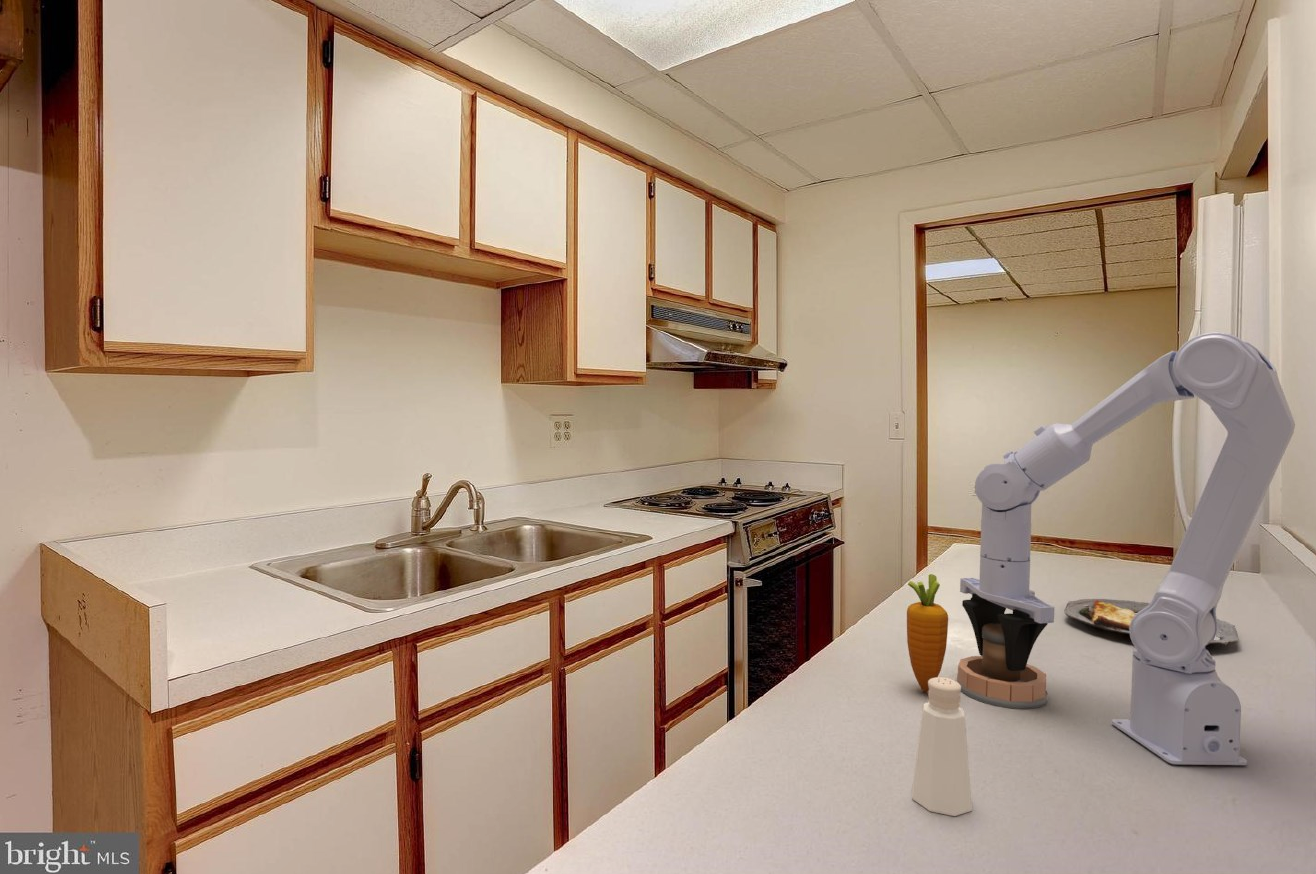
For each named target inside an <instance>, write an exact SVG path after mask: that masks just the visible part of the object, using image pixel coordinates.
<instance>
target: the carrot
mask: <svg viewBox="0 0 1316 874" xmlns="http://www.w3.org/2000/svg"><path fill="white" fill-rule="evenodd" d="M907 585H908V586H909V587H911V589H913V590H914V591H915V593H916V595H917V596H918V598H919V601H917V602H914V603H912V604H909V606H908V607H907V610H906V638H907V639H906V641H907V642H906V643H907V649H908V656H909V660H910V665H911V669H912V672H913V675H914V677H915V679H916V681H917V684H918V686H919V688H920V689H921V690H922V692H923V693H929V686H928V681H929V680H930V679H931V678H936V677H939V675H940V673H941V671H942V668H943V663H944V661H945V660H944V659H945V655H946V651H947V644H948V630H949V615H948V611H947V610H946V609H945V608H944V607H942V606H941V604H938V603H934V602H935V597H936V594H937V592H938V591H939V589H940V582H938V579H937V576H936V574H934V573H930V574H928V588H925V585H924V583H923V581H917V584H916V583H915V582H914V581H911V580H910V581H909V582H908V583H907Z"/></svg>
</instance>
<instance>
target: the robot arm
mask: <svg viewBox="0 0 1316 874" xmlns="http://www.w3.org/2000/svg"><path fill="white" fill-rule="evenodd" d="M1195 397H1197V398H1198V399H1200V400H1201V401H1203V402H1204V403H1206V404H1207V405H1208V406H1209V407H1210V409H1211V412H1213V413H1214V415H1215V416H1216V418H1218V420H1219V422H1220V423H1221V424H1222V426H1223V427H1224V428H1225V430H1226V431H1227V436H1226V438H1225V441H1224V444H1223V445H1222V447H1221V449H1220V452H1219V454H1218V457H1217V459H1216V461H1215V464H1214V466H1213V468H1212V470H1211V473H1210V475H1209V478H1208V480H1207V483H1206V485H1205V487H1204V489H1203V491H1202V494H1201V496H1200V498H1199V501H1198V503H1197V505H1196V508H1195V509H1194V511H1193V514H1192V517H1191V519H1190V521H1189V523H1188V526H1187V529H1186V530H1185V532H1184V534H1183V537H1182V539H1181V542H1180V544H1179V547H1178V549H1177V551H1176V554H1175V555H1174V557H1173V560H1172V562H1171V564H1170V567H1169V570H1168V571H1167V573H1166V575H1165V576H1164V578H1163V580H1162V581H1161V583H1160V585H1159V586H1158V588H1157V589H1156V590H1155V591H1156V592H1155V593H1154V596H1153V597H1152V600H1151V601H1150V602H1149V603H1150V604H1149V605H1148V606H1147V607H1145V608H1144V609H1142V610H1141V611H1139V612H1138V613H1137V614H1136V615H1135V616H1134V617H1133V618H1132V620H1131V623H1130V627H1129V633H1130V634H1129V637H1130V640H1131V643H1132V645H1133V646H1134V647H1133V648H1132V661H1131V664H1132V665H1131V690H1130V692H1131V694H1130V717H1129V718H1130V719H1128V718H1127V719H1126V718H1123V719H1122V718H1119V719H1118V718H1113V719H1111V722H1110V723H1111V725H1113V726H1114V727H1116V728H1118V729H1119V730H1121V732H1123V733H1125V734H1126V735H1128V736H1129V737H1131V738H1132V739H1134V740H1135V741H1136V742H1138V743H1140V745H1142V746H1143V747H1145V748H1146V749H1148V750H1149V751H1151V752H1152V753H1154V754H1155V755H1156V756H1158V757H1160V758H1161V759H1162V760H1164V761H1165V762H1167V763H1169V764H1170V765H1171V764H1172V765H1190V766H1191V765H1193V766H1195V765H1197V766H1199V765H1200V766H1202V765H1203V766H1204V765H1205V766H1206V765H1207V766H1213V765H1214V766H1247V765H1248V759H1245V758H1244V757H1243V756H1241V755H1240V746H1241V745H1240V743H1241V718H1242V705H1241V702H1240V699H1239V697H1238V695H1237V693H1236V692H1235V690H1234V689H1232V688H1231V686H1228V685H1227V684H1226V683H1225V682H1223V681H1222V680H1221V678H1220V676H1219V675H1218V673H1217V670H1216V660H1215V659H1213V657H1212V655H1211V654H1210V651H1209V650H1208V649H1206V646H1208V644H1209V643H1210V642H1211V641H1212V640H1213V639H1214V638H1215V636H1216V634H1217V630H1218V622H1217V619H1218V618H1217V606H1218V604H1219V602H1220V599H1221V597H1222V593H1223V588H1224V585H1225V583H1226V581H1227V579H1228V577H1229V574H1230V572H1231V570H1232V568H1233V565H1234V564H1235V561H1236V559H1237V557H1238V555H1239V553H1240V550H1241V548H1242V546H1243V544H1244V542H1245V540H1246V538H1247V535H1248V533H1249V531H1250V528H1251V527H1252V524H1253V522H1254V520H1255V518H1256V516H1257V513H1258V511H1259V508H1260V507H1261V505H1262V502H1263V500H1264V499H1265V496H1266V495H1267V492H1268V489H1269V488H1270V485H1271V483H1272V480H1273V479H1274V476H1275V474H1276V472H1277V469H1278V467H1279V465H1280V463H1281V461H1282V459H1283V456H1284V455H1285V452H1286V450H1287V448H1288V446H1289V445H1290V442H1291V439H1292V437H1293V436H1294V432H1295V428H1296V427H1295V426H1296V424H1295V420H1294V417H1293V415H1292V412H1291V409H1290V407H1289V404H1288V401H1287V398H1286V396H1285V394H1284V391H1283V387H1282V385H1281V383H1280V380H1279V376H1278V372H1277V369H1276V367H1275V366H1274V364H1272V362H1271V361H1269V359H1268V358H1267V357H1266V356H1265V355H1263V353H1262V352H1261V351H1260V350H1259V349H1258V348H1257V347H1255V346H1254V345H1252V343H1249V342H1247V341H1244V340H1243V339H1241V338H1239V337H1238V336H1236V335H1233V334H1230V333H1226V332H1220V331H1217V332H1216V331H1210V332H1206V333H1202V334H1199V335H1195V336H1193V337H1192V338H1190V339H1189V340H1187V341H1185V342H1184V343H1183V344H1182V345H1181V346H1180V348H1179V349H1178V350H1177V351H1175V350H1171V351H1169V352H1168V353H1166V354H1164V355H1162V356H1160V357H1158V358H1157V359H1156V360H1154V361H1153V362H1152V363H1150V364H1149V365H1148V366H1146V367H1145V368H1144V369H1142V370H1141V371H1139V372H1138V373H1136V375H1134V376H1133V377H1131V378H1130V379H1129V380H1127V381H1126V382H1125V383H1124V384H1122V385H1121V386H1120V387H1118V388H1117V389H1116V390H1114V391H1113V392H1112V393H1111V394H1110V395H1108V396H1107V397H1105V398H1104V399H1103V400H1101V401H1100V402H1099V403H1097V404H1096V405H1095V406H1094V407H1093V408H1091V409H1089V411H1087V412H1086V413H1084V414H1083V415H1082V416H1081V417H1080V418H1078V419H1077V420H1076V421H1074V422H1073V423H1072V424H1067V423H1061V422H1060V423H1059V422H1058V423H1057V422H1056V423H1052V424H1051V425H1050V426H1049V427H1048V426H1047V425H1040V426H1039V427H1037V429H1035V430H1034V431H1033V433H1034V434H1035V435H1036V436H1035V437H1033V438H1032V439H1030V440H1029V441H1028V442H1026V443H1025V444H1024V445H1022V446H1021V447H1020V448H1018V449H1017V450H1015V451H1014V452H1013V451H1011V450H1010V451H1007V452H1005V454H1003V457H1002V458H1003V459H1004V462H1003V463H1002V462H995V463H990V464H986V465H985V466H984V468H983V470H981V471H980V472H979V473H978V475H977V477H976V479H975V483H974V491H975V494H976V497H977V499H978V500H979V501H980V503H981V520H980V547H979V549H980V551H979V552H980V553H979V555H980V556H979V558H980V559H979V578H975V577H961V578H960V582H959V584H960V585H959V587H960V588H959V592H960V593H962V594H964V595H965V594H968V595H969V594H970V595H971V597H970V599H963V600H962V604H961V605H962V606H961V607H963V608H964V610H965V612H966V614H967V616H968V619H969V621H970V622H971V626H972V629H973V632H974V637H975V641H976V645H977V650H978V653H979V656H983V638H982V627H983V626H984V625H985V624H991V623H996V624H1001V627H1002V630H1003V634H1004V640H1005V654H1006V665H1007V669H1008V670H1010V671H1021V670H1025V668H1026V665H1027V664H1028V661H1029V658H1030V655H1031V652H1032V650H1033V647H1034V646H1035V643H1036V641H1037V639H1038V637H1039V636H1040V634H1042V632H1043V630H1044V629H1045V628H1046V627H1047V626H1048V625H1049V624H1053V623H1054V622H1055V606H1053V605H1051V604H1048V603H1046V602H1044V601H1043V600H1042V599H1039V598H1038V597H1037V596H1036V595H1035V594H1036V593H1035V591H1034V590H1032V589H1030V585H1031V584H1030V581H1031V580H1030V579H1031V577H1030V575H1031V550H1032V549H1031V548H1032V547H1031V546H1032V545H1031V542H1032V539H1031V538H1032V505H1033V504H1034V502H1035V501H1037V499H1038V497H1039V496H1040V493H1041V492H1042V491H1043V492H1044V491H1046V490H1047V489H1049V488H1050V487H1051V486H1053V485H1055V484H1056V483H1057V482H1059V481H1060V480H1062V479H1064V478H1065V477H1067V476H1068V475H1070V474H1072V472H1074V471H1076V470H1078V469H1079V468H1081V467H1082V466H1084V465H1085V464H1087V463H1088V462H1089V461H1090V460H1091V453H1092V449H1093V445H1094V444H1096V443H1097V442H1099V441H1101V440H1102V439H1104V438H1106V437H1107V436H1109V435H1110V434H1111V433H1113V432H1115V431H1117V430H1119V429H1120V428H1121V427H1123V426H1124V425H1126V424H1128V423H1129V422H1131V421H1132V420H1134V419H1136V418H1138V417H1139V416H1140V415H1142V414H1143V413H1146V412H1147V411H1148V410H1151V409H1152V408H1154V407H1155V406H1156V405H1158V404H1163V403H1164V404H1165V403H1169V402H1176V401H1183V400H1190V399H1194V398H1195ZM1007 609H1008V610H1010V611H1012V612H1011V613H1006V610H1007ZM1209 645H1210V644H1209Z"/></svg>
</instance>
